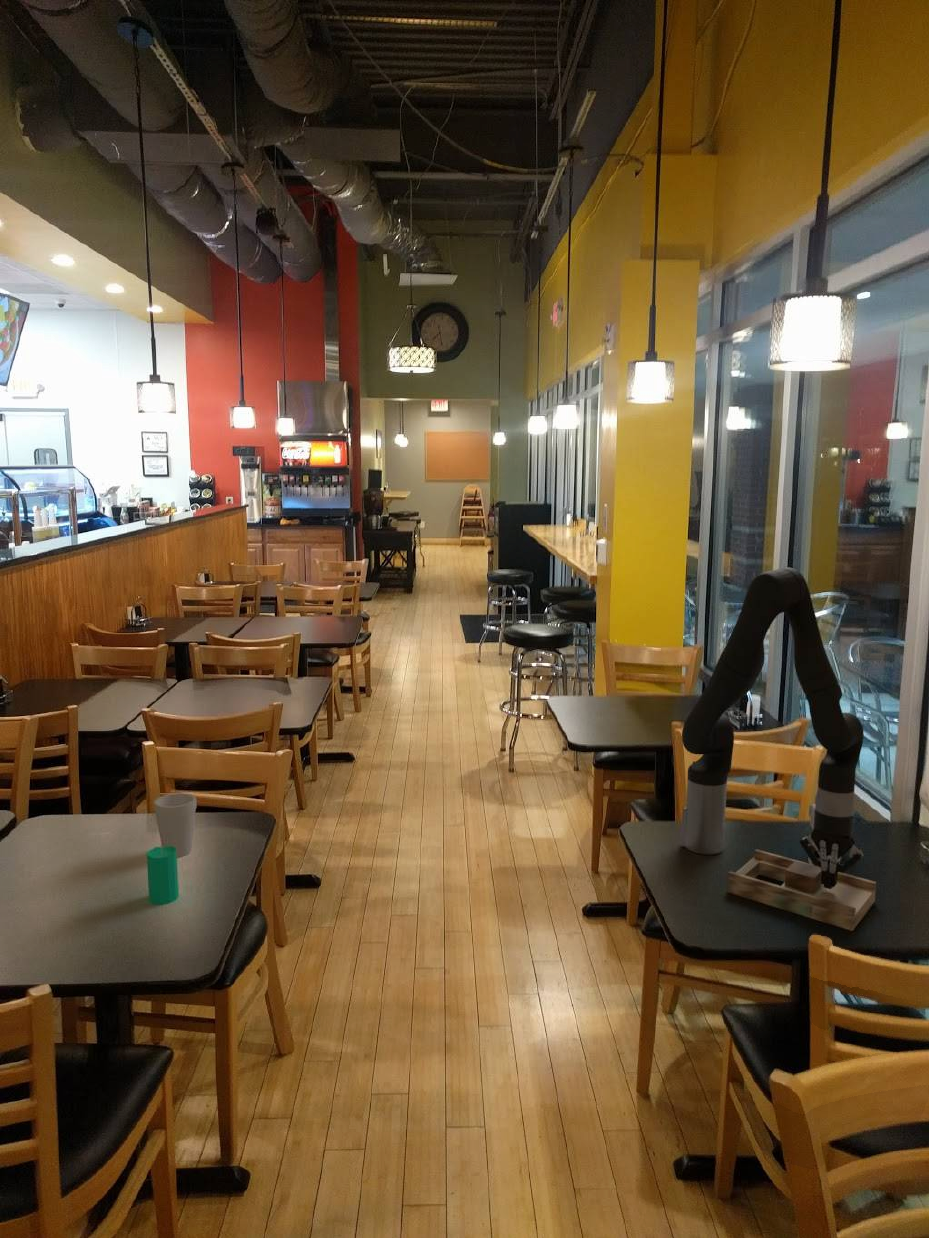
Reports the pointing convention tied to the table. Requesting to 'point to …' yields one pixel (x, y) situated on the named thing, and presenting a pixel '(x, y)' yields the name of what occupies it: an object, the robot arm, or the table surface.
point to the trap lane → (803, 892)
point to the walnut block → (803, 877)
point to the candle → (162, 875)
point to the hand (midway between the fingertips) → (828, 887)
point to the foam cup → (176, 821)
